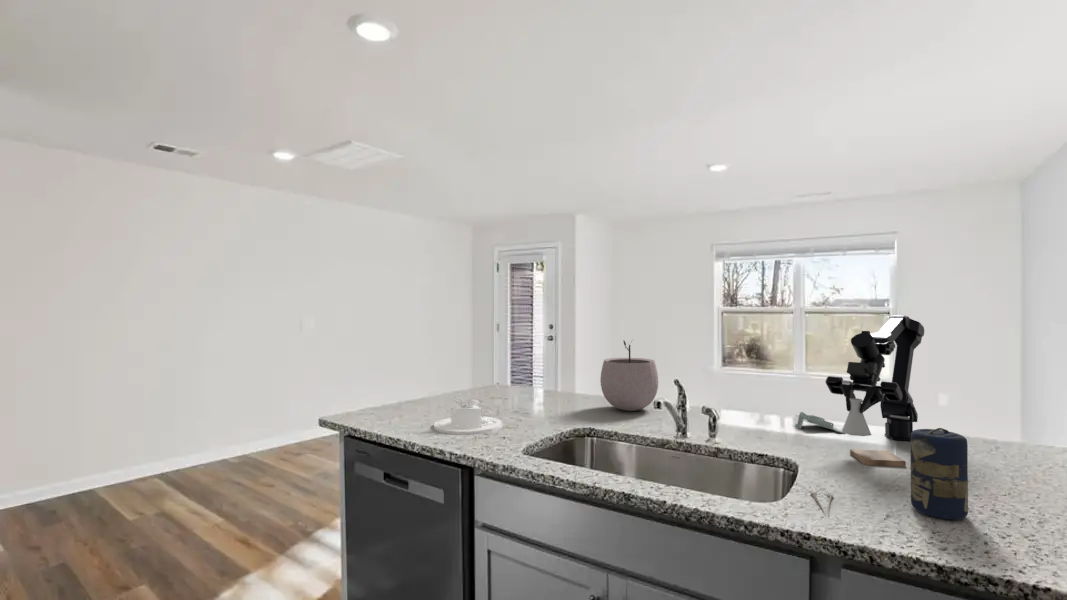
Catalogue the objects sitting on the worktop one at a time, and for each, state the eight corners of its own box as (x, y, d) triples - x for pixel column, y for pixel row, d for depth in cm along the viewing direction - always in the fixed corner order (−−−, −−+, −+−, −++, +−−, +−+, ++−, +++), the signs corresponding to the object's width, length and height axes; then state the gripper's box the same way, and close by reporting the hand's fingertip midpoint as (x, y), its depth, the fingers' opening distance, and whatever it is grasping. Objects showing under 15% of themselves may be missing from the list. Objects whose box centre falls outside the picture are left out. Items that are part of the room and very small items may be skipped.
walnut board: (888, 456, 149) (888, 450, 149) (905, 466, 140) (905, 461, 140) (850, 454, 151) (850, 449, 151) (864, 464, 142) (864, 459, 142)
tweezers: (809, 495, 121) (810, 487, 121) (833, 499, 119) (833, 490, 119) (815, 530, 105) (815, 520, 105) (842, 534, 103) (842, 525, 103)
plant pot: (654, 404, 228) (654, 336, 228) (662, 416, 204) (662, 340, 204) (599, 403, 230) (599, 336, 230) (601, 415, 206) (601, 340, 207)
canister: (899, 505, 113) (898, 423, 113) (940, 504, 114) (939, 422, 114) (937, 524, 103) (936, 434, 104) (981, 522, 104) (980, 432, 104)
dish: (499, 435, 177) (499, 402, 177) (426, 435, 178) (426, 402, 178) (504, 419, 202) (504, 390, 202) (440, 419, 202) (440, 390, 202)
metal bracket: (807, 416, 177) (791, 408, 192) (803, 432, 177) (787, 422, 192) (851, 429, 175) (831, 419, 190) (846, 446, 175) (826, 434, 190)
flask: (862, 430, 153) (862, 396, 153) (876, 437, 145) (876, 401, 145) (836, 430, 153) (836, 396, 153) (850, 436, 146) (849, 401, 146)
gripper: (827, 349, 159) (810, 389, 153) (898, 354, 144) (883, 398, 138) (839, 372, 164) (823, 412, 157) (908, 379, 149) (894, 423, 142)
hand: (854, 411), depth 148 cm, fingers closed on flask, 3 cm apart
